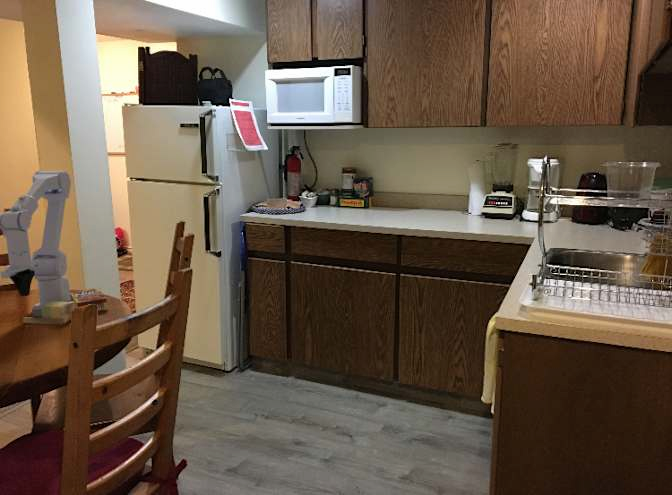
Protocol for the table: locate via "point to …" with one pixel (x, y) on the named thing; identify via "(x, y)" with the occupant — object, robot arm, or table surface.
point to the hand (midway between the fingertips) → (24, 295)
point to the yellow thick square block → (56, 309)
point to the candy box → (89, 298)
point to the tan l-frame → (64, 317)
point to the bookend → (37, 311)
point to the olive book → (47, 309)
